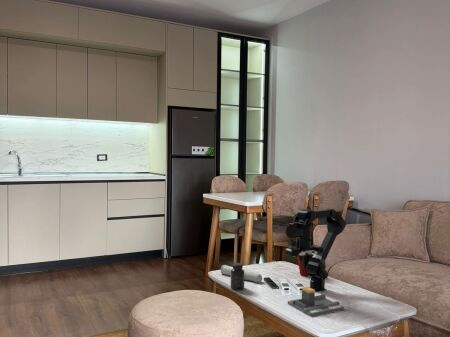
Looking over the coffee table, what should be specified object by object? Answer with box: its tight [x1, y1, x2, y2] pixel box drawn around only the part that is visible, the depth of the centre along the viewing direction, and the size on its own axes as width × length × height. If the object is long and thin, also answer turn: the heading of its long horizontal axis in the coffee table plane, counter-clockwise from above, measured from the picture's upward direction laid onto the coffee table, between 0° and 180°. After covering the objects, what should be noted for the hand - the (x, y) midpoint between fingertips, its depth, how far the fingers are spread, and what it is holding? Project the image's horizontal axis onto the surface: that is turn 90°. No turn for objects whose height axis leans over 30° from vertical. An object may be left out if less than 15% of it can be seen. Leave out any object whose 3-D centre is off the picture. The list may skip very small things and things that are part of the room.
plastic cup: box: [296, 252, 316, 277], centre depth 226 cm, size 11×11×12 cm
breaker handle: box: [301, 286, 316, 307], centre depth 177 cm, size 3×5×7 cm, turn 27°
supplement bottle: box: [230, 262, 245, 291], centre depth 202 cm, size 7×7×12 cm
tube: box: [220, 264, 263, 284], centre depth 219 cm, size 5×5×25 cm
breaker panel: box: [287, 294, 345, 318], centre depth 179 cm, size 18×16×3 cm
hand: (304, 268), depth 195 cm, fingers closed
